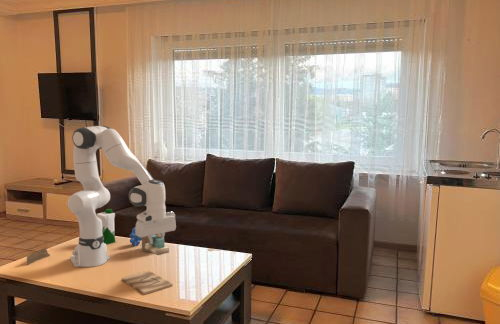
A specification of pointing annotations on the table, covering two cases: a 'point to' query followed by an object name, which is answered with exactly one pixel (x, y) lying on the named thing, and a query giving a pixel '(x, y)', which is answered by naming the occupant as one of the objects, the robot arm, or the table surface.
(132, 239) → the grapes
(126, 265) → the table surface
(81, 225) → the robot arm
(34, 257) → the wood plank
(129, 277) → the wooden board
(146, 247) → the block
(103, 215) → the milk carton
